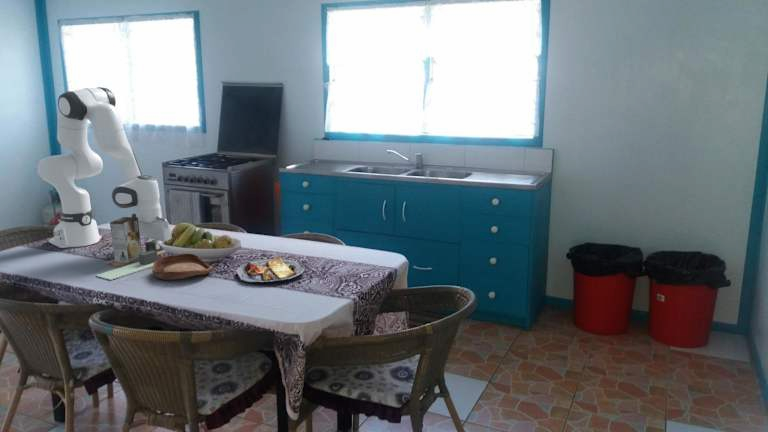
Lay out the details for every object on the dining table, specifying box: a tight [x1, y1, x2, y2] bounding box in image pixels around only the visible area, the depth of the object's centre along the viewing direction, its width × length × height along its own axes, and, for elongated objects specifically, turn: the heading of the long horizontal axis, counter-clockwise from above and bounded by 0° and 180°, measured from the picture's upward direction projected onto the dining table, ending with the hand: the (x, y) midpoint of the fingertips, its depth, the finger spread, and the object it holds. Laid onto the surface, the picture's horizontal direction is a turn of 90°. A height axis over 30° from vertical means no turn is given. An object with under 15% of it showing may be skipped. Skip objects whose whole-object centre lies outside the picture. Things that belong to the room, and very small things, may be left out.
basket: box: [152, 252, 213, 281], centre depth 223 cm, size 22×20×5 cm
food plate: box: [235, 256, 305, 283], centre depth 222 cm, size 25×23×4 cm
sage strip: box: [95, 250, 158, 281], centre depth 228 cm, size 9×22×4 cm, turn 148°
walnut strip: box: [105, 239, 167, 268], centre depth 243 cm, size 9×22×4 cm, turn 148°
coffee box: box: [109, 216, 143, 263], centre depth 239 cm, size 9×6×16 cm
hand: (153, 248), depth 250 cm, fingers closed on walnut strip, 3 cm apart
